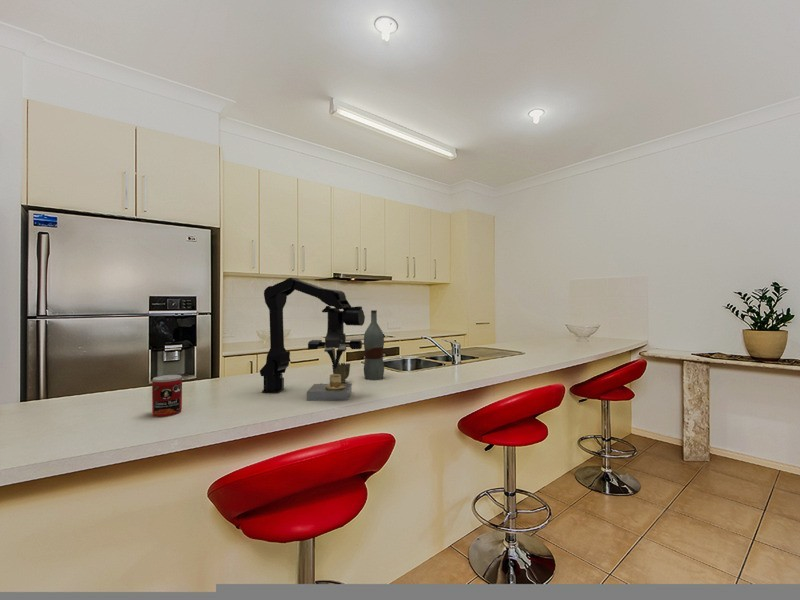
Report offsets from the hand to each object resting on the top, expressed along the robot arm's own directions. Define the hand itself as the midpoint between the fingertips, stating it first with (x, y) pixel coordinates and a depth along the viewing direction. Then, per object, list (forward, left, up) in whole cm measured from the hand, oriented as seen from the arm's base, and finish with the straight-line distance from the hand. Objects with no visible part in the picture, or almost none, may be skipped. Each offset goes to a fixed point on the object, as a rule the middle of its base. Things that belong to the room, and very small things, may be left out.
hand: (335, 368), depth 134 cm
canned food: (-48, -20, -10) cm, 53 cm away
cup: (-1, +21, -10) cm, 23 cm away
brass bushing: (0, 0, -9) cm, 9 cm away
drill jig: (-2, 0, -10) cm, 10 cm away
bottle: (+12, +31, -10) cm, 35 cm away
